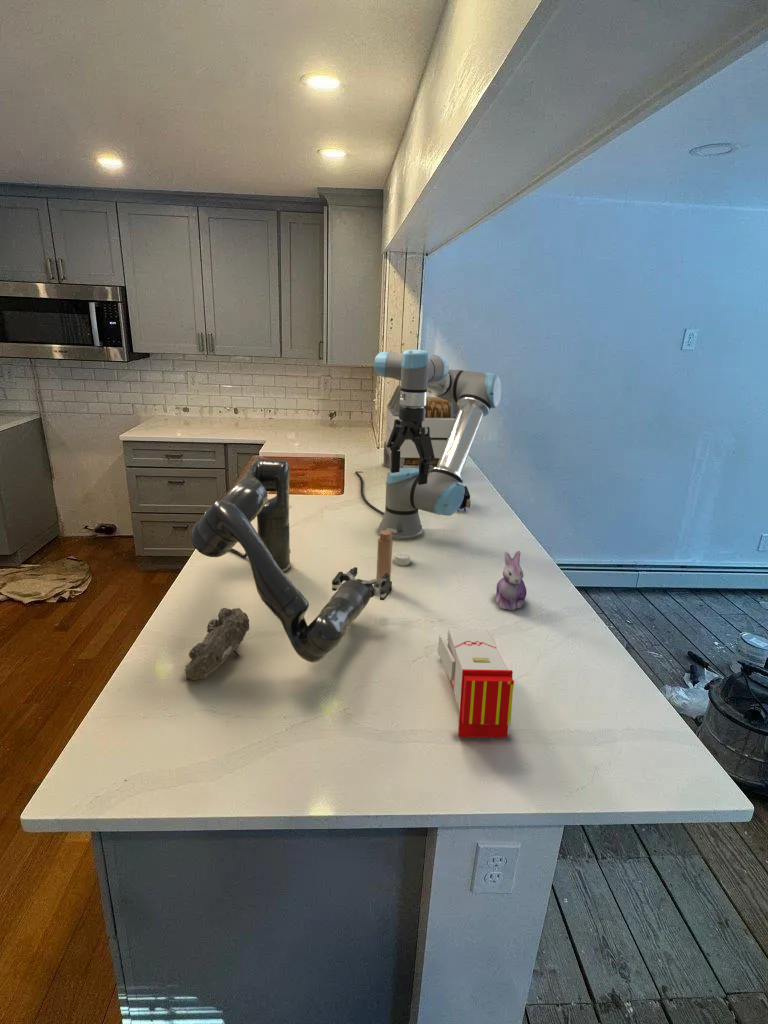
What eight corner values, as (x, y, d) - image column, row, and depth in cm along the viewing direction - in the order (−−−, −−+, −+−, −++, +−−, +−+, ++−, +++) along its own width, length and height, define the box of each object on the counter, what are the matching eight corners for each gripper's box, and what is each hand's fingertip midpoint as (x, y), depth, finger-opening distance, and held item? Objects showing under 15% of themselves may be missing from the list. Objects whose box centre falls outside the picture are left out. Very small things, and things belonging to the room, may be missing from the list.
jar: (374, 590, 159) (376, 534, 153) (377, 584, 163) (379, 529, 157) (388, 592, 158) (391, 535, 153) (391, 586, 162) (394, 530, 156)
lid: (412, 563, 177) (413, 556, 176) (400, 566, 175) (400, 559, 174) (404, 558, 181) (404, 551, 180) (392, 561, 178) (392, 554, 177)
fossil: (204, 611, 136) (249, 581, 131) (232, 638, 139) (276, 610, 134) (164, 674, 117) (215, 642, 112) (197, 704, 120) (248, 674, 115)
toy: (488, 613, 130) (523, 677, 101) (484, 667, 133) (517, 744, 104) (435, 612, 130) (455, 676, 101) (432, 666, 133) (451, 743, 103)
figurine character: (470, 516, 223) (465, 500, 237) (473, 499, 220) (467, 484, 233) (453, 516, 223) (449, 500, 236) (455, 498, 220) (451, 483, 233)
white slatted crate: (382, 463, 289) (386, 382, 275) (445, 464, 293) (451, 384, 279) (390, 482, 257) (394, 392, 243) (460, 483, 261) (468, 394, 247)
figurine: (508, 614, 149) (515, 562, 144) (485, 597, 158) (490, 547, 153) (536, 607, 153) (543, 557, 148) (511, 591, 162) (518, 542, 157)
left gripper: (320, 610, 136) (345, 581, 150) (376, 622, 132) (397, 591, 146) (320, 582, 133) (346, 555, 147) (377, 593, 129) (398, 564, 143)
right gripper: (377, 400, 169) (374, 469, 176) (429, 414, 150) (424, 491, 157) (397, 399, 173) (394, 466, 180) (451, 412, 154) (445, 487, 161)
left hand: (371, 573), depth 147 cm, fingers open, 8 cm apart
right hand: (408, 478), depth 169 cm, fingers open, 13 cm apart
